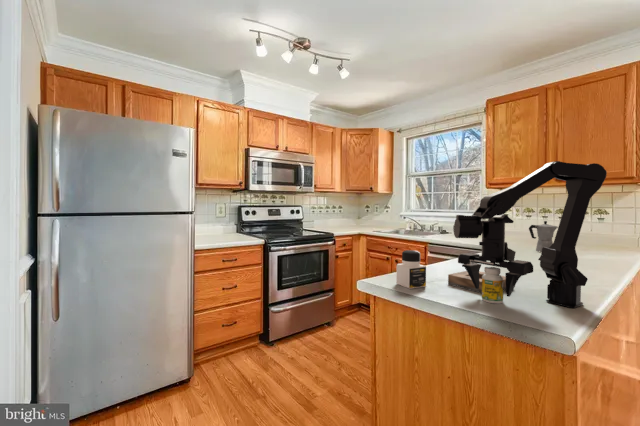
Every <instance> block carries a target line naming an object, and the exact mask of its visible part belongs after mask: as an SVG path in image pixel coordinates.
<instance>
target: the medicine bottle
mask: <svg viewBox="0 0 640 426" xmlns="http://www.w3.org/2000/svg"><path fill="white" fill-rule="evenodd" d="M396 284H397V285H398V286H402V287H404V288H406V289H410V290H411V289H418V288H425V287H427V266H426V265H423V264H421V252H420V251H418V250H415V249H414V250H413V249H411V250H410V249H407V250H406V249H405V250H403V251H402V252H401V263H397V264H396Z"/></svg>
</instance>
